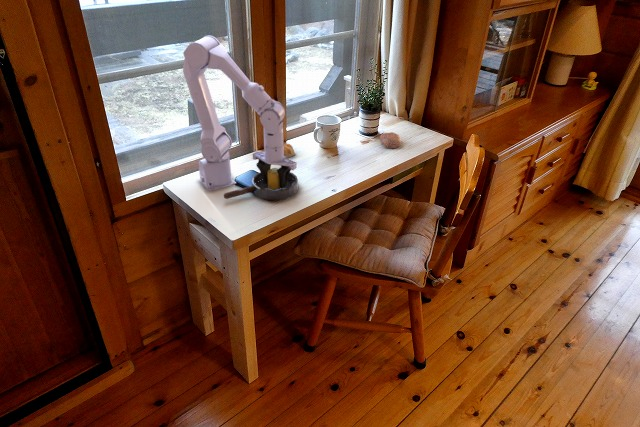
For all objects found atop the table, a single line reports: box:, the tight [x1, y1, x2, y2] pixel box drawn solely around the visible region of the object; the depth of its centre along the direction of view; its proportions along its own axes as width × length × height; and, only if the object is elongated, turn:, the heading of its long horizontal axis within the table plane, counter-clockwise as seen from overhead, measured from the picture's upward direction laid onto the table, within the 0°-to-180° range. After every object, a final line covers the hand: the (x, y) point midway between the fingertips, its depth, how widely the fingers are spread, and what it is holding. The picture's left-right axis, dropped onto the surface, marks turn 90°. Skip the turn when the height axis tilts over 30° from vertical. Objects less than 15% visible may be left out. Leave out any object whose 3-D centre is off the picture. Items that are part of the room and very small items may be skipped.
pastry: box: [283, 143, 296, 159], centre depth 167 cm, size 9×7×4 cm
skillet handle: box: [223, 185, 256, 200], centre depth 141 cm, size 11×2×2 cm, turn 122°
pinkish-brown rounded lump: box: [379, 132, 402, 149], centre depth 178 cm, size 8×6×8 cm
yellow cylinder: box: [268, 167, 282, 191], centre depth 146 cm, size 4×4×7 cm
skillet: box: [251, 171, 299, 202], centre depth 147 cm, size 14×14×4 cm
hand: (275, 184), depth 147 cm, fingers open, 5 cm apart
